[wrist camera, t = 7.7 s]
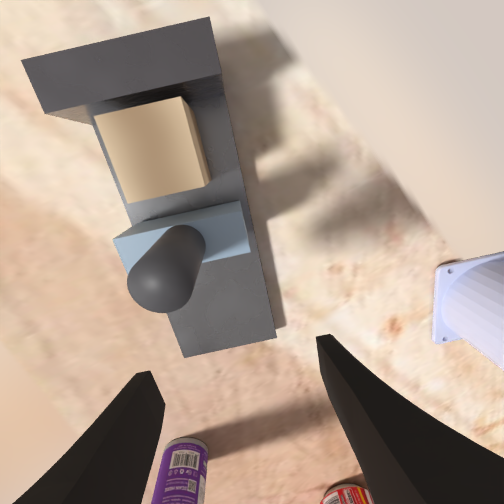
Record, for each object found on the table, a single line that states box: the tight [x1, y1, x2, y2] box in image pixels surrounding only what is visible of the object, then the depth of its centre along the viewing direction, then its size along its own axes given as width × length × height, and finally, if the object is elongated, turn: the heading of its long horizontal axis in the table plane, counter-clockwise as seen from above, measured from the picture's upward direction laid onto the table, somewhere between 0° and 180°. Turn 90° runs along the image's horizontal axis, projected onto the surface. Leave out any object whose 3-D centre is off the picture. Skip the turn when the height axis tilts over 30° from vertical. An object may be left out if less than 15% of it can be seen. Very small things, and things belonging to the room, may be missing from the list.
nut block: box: [94, 96, 211, 204], centre depth 14 cm, size 4×4×4 cm
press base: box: [21, 17, 277, 358], centre depth 16 cm, size 8×20×5 cm, turn 12°
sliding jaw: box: [113, 200, 251, 313], centre depth 13 cm, size 7×2×8 cm, turn 102°
